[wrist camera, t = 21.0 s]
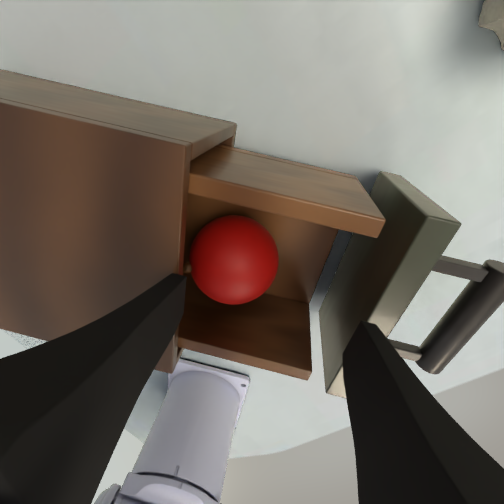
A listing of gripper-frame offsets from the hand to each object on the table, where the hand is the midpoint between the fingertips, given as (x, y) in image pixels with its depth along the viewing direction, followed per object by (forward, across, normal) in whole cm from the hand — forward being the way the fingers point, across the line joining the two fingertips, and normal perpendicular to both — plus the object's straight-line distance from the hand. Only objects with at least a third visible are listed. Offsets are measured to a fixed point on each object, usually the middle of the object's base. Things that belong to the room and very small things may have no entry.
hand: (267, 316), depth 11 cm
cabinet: (+8, +11, 0) cm, 14 cm away
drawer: (+7, -1, 0) cm, 7 cm away
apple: (+4, +2, 0) cm, 4 cm away
